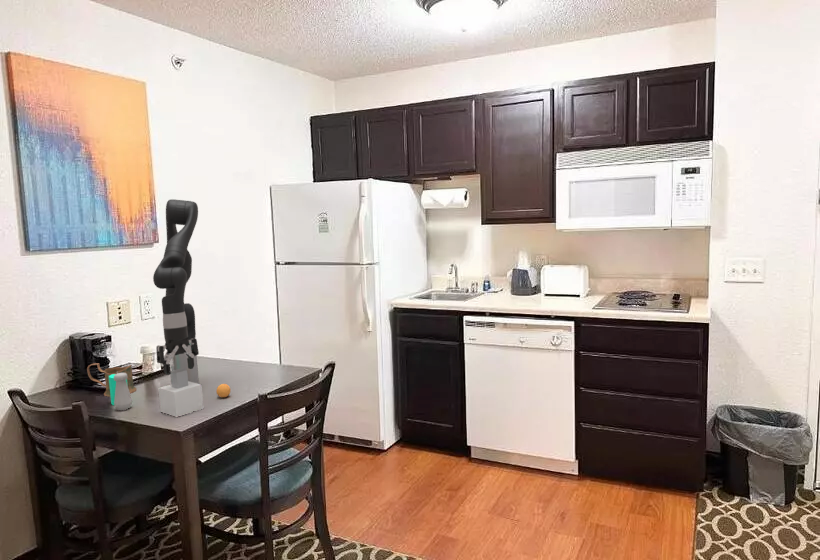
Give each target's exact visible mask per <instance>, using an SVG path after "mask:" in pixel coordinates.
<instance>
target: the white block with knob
mask: <svg viewBox="0 0 820 560" xmlns="http://www.w3.org/2000/svg"><path fill="white" fill-rule="evenodd" d="M169 376H170V384H168V385H164V386H161V387H158V389H157V390H158V398H159V399H158V400H159V408H160V413H161V412H164V413H168V414H171V415H174V416H179V415H183V414H186V413H190V412H193V411H196V412H198V411H197V410H199V411H202V410H204V408H205V407H204V397H203V387H202V384H200V383H199V384H197V383H193V382H189V381H188V375H187V370H184V369H178V370H174V371H172V370H171V374H170V375H169ZM201 409H202V410H201ZM164 413H163V414H164ZM193 413H194V412H193ZM190 414H191V413H190Z"/></svg>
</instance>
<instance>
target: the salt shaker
mask: <svg viewBox="0 0 820 560" xmlns="http://www.w3.org/2000/svg"><path fill="white" fill-rule="evenodd" d="M127 378H128V376H127V374H126V373H118V374H115V376H114V380H115V381H116V389H115V400H114V405H113V406H114V407H115V408H116V410H117V411H119V410H123V411H127V410H129V409H128V408H130V409H131V406H132V403H133V397H132V396H131V394H130V392H129V389H128V386H127V383H126V379H127ZM126 409H127V410H126Z"/></svg>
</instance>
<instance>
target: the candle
mask: <svg viewBox="0 0 820 560" xmlns="http://www.w3.org/2000/svg"><path fill="white" fill-rule="evenodd" d="M117 374H118V373H117ZM114 376H115V374H111V375H110V376H109V386H110V396H111V397H110V402H111V404H112V405H111V404H110V405H111V406H115V405H114V400H115V389H116V381H115V380H114ZM126 383H127V379H126ZM127 386H128V385H127Z"/></svg>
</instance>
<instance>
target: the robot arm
mask: <svg viewBox="0 0 820 560" xmlns="http://www.w3.org/2000/svg"><path fill="white" fill-rule="evenodd" d="M198 218H199V207H198V203H197V202H195V201H191V200H183V199H173V198H172V199H168V201H166V204H165V225H166V244H165V245H166V246H165V249H164V254H163V258H162V259H161V261H160V262H159V264H158V266H157V267H156V268H155V270H154V273H153V276H152V279H153V284H154V286H155V287H156V288H158V289H162V290H163V289H165V295H164V296H163V297H162V298H161V307H162V326H163V335H164V341H165V343H164V345H156V363H158V364H162V365H163V367H162V368H163V373H164V374H165V375H166V376H170V374H171V371H174V370H178V369H184V370H187V375H188V381H189V382H193V383H197V384H200V377H199V365H198V355H199V354H200V353H199V348H198V347H199V346H198V341H197V338H196V337H197V336H196V335H197V334H196V332H197V331H196V314H195V309H194V306H193V305H192V304H191V303H187V302H186V303H185V292H186V286H187V283H188V282H189V280H190V278H191V276H192V270H193V269H192V268H193V267H192V266H193V264H192V263H193V262H192V261H193V259H192V255H191V253H190V251H189V250H188V247H189V244H190V241H191V239H192V236H193V234H194V231H195V228H196V225H197V222H198ZM177 225H178V226H183V227H182V228H181V229H180V230H178V229H177ZM165 351H166V352H165ZM171 360H172V361H171ZM171 362H172V364H170V363H171Z"/></svg>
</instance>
